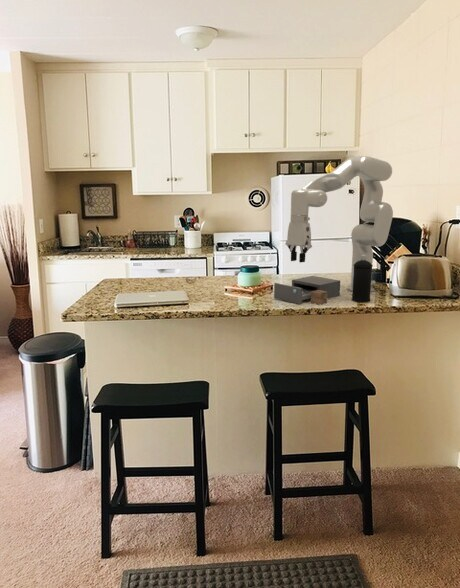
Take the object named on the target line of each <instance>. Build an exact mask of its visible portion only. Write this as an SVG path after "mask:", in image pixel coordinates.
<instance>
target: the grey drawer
mask: <svg viewBox="0 0 460 588" xmlns="http://www.w3.org/2000/svg"><path fill="white" fill-rule="evenodd" d="M273 290H274V291H273V292H274V293H273V299H277V300H281V301H284V302H289V303H293V304H298V305H302V303H303V302H302V301H303V300H308V299H309V300H310V298H311V291H312V290H307V289H302V288H299V287H293V286H292V285H287V284H282V283H277V282H275V283H274V287H273ZM302 290H304V291H305V295H302Z"/></svg>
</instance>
